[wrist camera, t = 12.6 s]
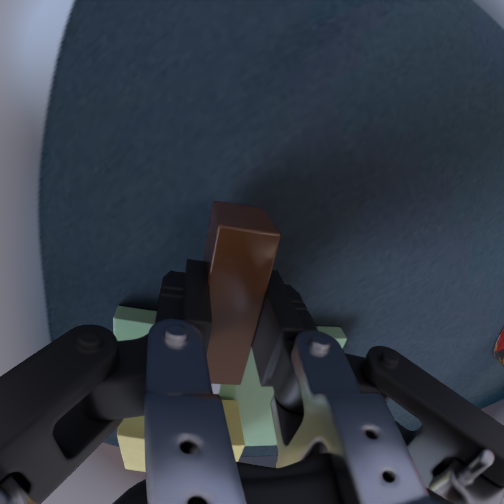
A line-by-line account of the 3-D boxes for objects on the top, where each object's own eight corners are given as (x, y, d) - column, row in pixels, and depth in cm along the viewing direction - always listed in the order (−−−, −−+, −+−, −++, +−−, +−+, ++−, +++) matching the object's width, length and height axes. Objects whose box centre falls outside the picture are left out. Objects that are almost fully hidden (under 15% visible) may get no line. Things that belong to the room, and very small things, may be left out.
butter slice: (199, 436, 16) (202, 476, 13) (207, 398, 14) (210, 445, 12) (226, 437, 16) (231, 477, 14) (238, 399, 15) (245, 445, 12)
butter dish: (127, 425, 17) (121, 478, 13) (117, 304, 13) (94, 371, 9) (286, 433, 19) (300, 481, 15) (340, 326, 15) (374, 384, 11)
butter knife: (213, 199, 11) (217, 224, 8) (262, 207, 11) (282, 234, 9) (179, 449, 16) (181, 485, 14) (207, 451, 17) (210, 486, 14)
